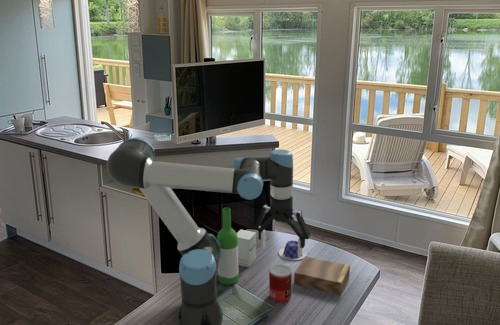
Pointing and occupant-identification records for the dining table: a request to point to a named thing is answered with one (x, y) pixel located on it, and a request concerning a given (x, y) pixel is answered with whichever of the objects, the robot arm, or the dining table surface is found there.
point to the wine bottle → (228, 251)
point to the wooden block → (322, 275)
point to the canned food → (280, 283)
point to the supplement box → (246, 247)
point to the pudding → (291, 251)
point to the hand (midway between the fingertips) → (281, 251)
